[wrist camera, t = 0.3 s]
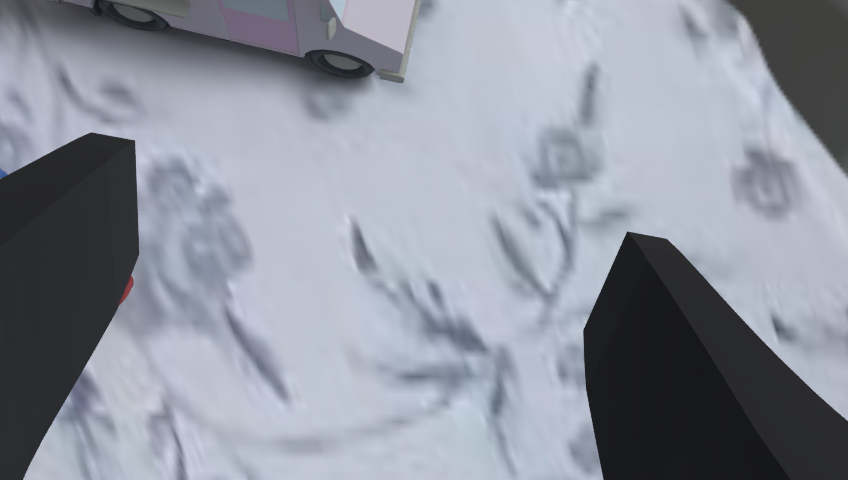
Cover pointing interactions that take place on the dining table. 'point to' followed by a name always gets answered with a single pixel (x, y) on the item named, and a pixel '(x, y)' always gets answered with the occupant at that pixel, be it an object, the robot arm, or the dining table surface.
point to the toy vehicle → (290, 28)
